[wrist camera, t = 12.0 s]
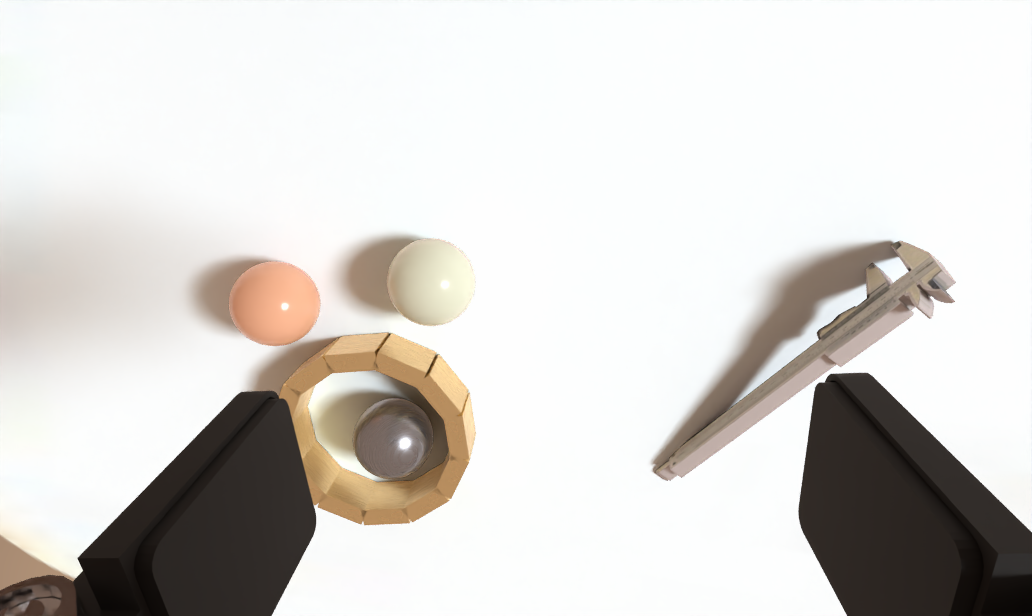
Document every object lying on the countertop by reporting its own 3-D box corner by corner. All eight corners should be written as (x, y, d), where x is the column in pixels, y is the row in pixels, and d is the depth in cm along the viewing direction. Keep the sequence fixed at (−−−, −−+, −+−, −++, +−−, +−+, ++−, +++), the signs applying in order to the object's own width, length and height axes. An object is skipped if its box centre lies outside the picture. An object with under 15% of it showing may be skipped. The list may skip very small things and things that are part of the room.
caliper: (893, 236, 34) (964, 266, 28) (906, 248, 34) (980, 280, 28) (654, 469, 40) (670, 533, 34) (666, 477, 40) (684, 543, 34)
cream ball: (393, 233, 35) (367, 254, 31) (474, 226, 35) (461, 246, 30) (407, 311, 37) (385, 342, 32) (485, 305, 37) (474, 336, 32)
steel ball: (336, 401, 37) (358, 435, 33) (410, 376, 40) (439, 405, 36) (352, 467, 39) (374, 507, 35) (421, 440, 41) (451, 474, 37)
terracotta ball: (246, 255, 37) (200, 279, 32) (323, 248, 36) (288, 271, 31) (266, 330, 38) (224, 362, 33) (339, 324, 38) (308, 356, 33)
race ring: (273, 341, 38) (250, 360, 36) (459, 327, 37) (451, 345, 34) (315, 499, 42) (297, 528, 40) (484, 491, 41) (478, 520, 38)
